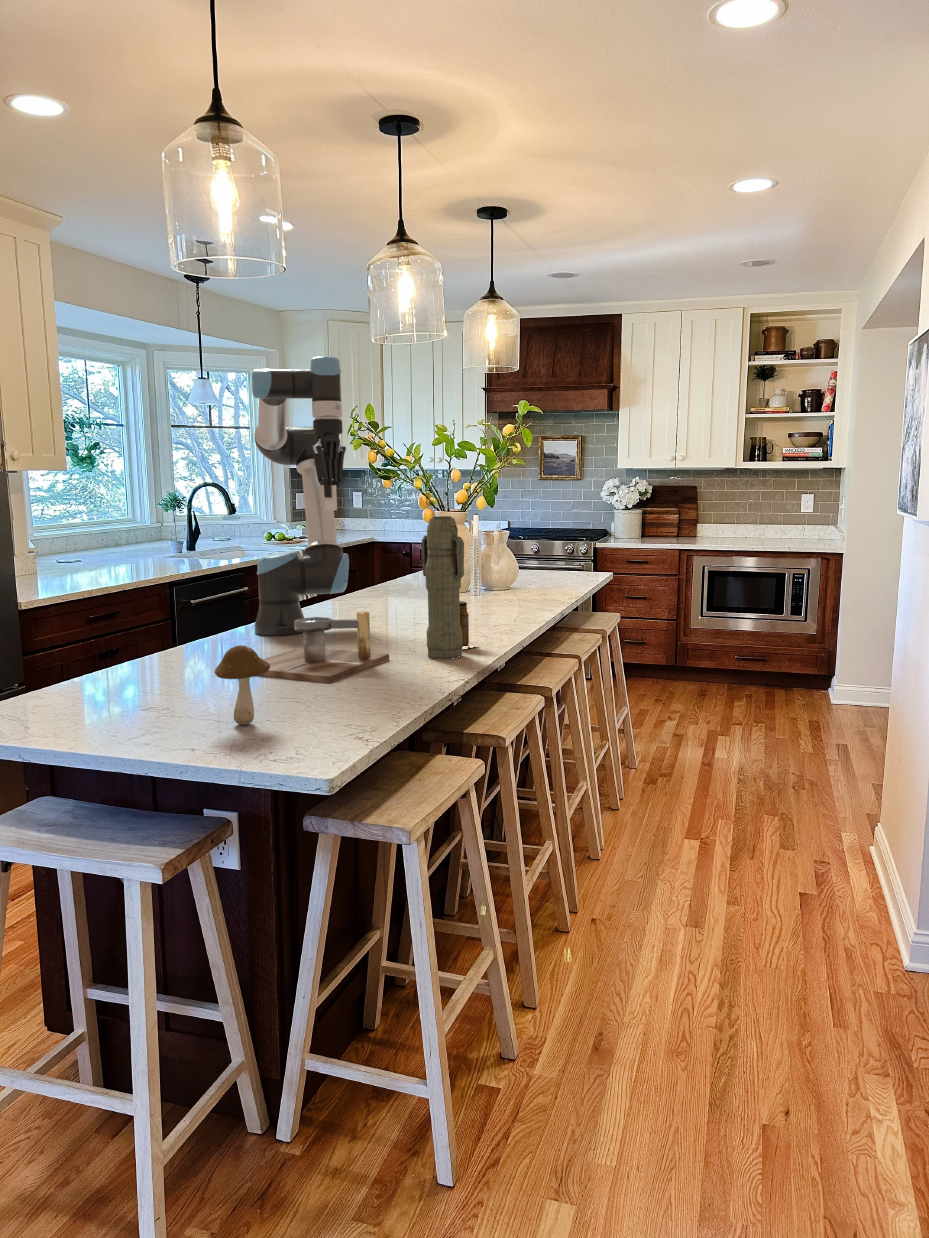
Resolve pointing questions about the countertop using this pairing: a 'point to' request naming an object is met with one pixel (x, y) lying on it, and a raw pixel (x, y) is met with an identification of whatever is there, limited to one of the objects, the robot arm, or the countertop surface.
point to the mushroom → (242, 678)
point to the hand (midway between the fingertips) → (331, 510)
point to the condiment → (464, 623)
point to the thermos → (443, 586)
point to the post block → (319, 661)
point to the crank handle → (327, 623)
